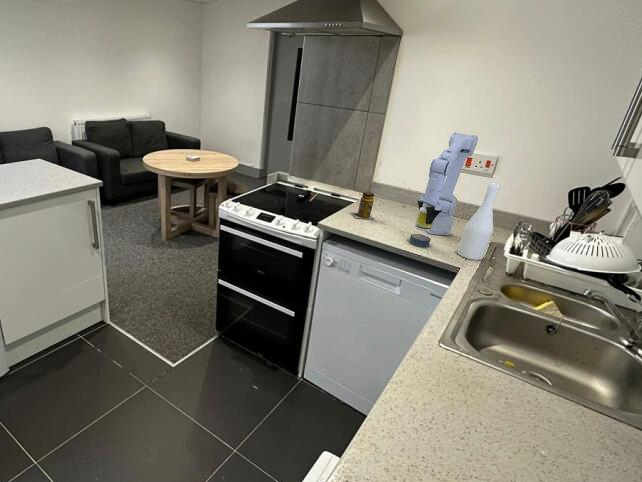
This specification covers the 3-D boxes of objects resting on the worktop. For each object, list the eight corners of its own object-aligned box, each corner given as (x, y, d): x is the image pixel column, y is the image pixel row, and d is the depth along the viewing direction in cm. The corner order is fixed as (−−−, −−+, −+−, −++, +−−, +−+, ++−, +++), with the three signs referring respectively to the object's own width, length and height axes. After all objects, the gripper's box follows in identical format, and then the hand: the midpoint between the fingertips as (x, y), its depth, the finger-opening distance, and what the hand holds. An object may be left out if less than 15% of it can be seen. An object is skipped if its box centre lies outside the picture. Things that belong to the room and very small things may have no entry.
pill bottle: (433, 232, 160) (440, 206, 156) (418, 230, 160) (425, 205, 156) (426, 226, 166) (434, 201, 161) (412, 225, 166) (419, 200, 161)
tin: (424, 240, 169) (425, 234, 168) (432, 248, 162) (434, 241, 161) (406, 239, 169) (408, 232, 168) (413, 246, 162) (415, 240, 160)
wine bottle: (467, 261, 152) (493, 186, 140) (451, 250, 161) (474, 179, 149) (488, 260, 154) (515, 187, 142) (471, 250, 163) (495, 180, 151)
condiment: (373, 219, 190) (378, 195, 185) (356, 218, 188) (361, 194, 184) (366, 213, 196) (371, 190, 192) (350, 213, 195) (355, 190, 190)
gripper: (416, 183, 163) (408, 214, 168) (432, 193, 149) (422, 226, 155) (433, 185, 163) (424, 215, 168) (450, 195, 150) (440, 228, 155)
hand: (424, 221), depth 162 cm, fingers closed on pill bottle, 6 cm apart
